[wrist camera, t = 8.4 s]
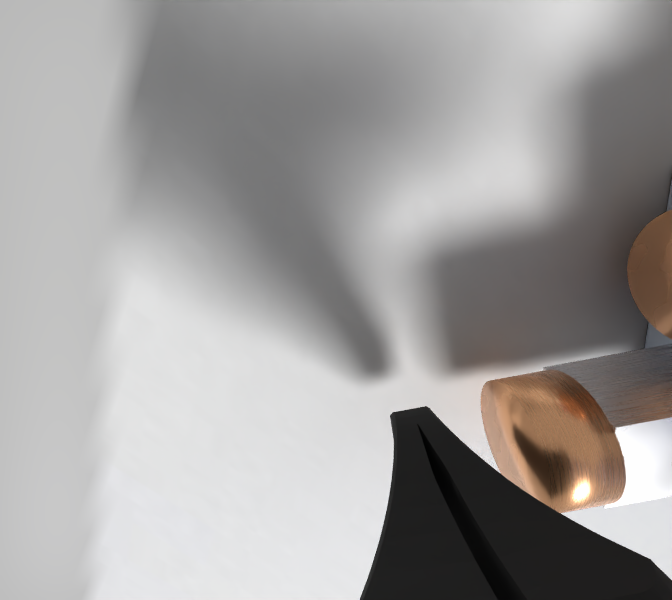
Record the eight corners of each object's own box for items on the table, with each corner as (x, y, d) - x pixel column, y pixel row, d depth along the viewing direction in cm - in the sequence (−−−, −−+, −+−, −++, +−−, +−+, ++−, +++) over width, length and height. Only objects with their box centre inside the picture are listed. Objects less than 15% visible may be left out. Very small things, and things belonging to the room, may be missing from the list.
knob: (680, 408, 13) (826, 499, 9) (482, 445, 13) (547, 549, 10) (701, 317, 12) (880, 380, 8) (479, 358, 12) (554, 440, 8)
